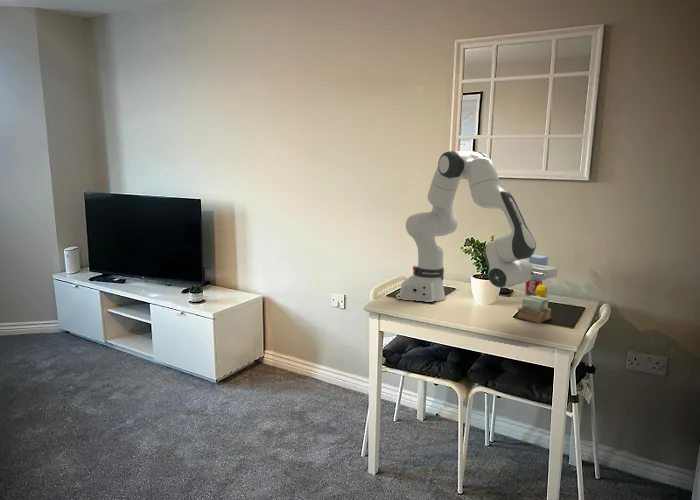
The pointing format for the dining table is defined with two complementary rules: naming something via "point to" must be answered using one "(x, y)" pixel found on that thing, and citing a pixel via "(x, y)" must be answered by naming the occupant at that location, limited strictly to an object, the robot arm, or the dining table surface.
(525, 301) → the tower
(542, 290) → the duckling
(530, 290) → the soda can
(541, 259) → the top brick
